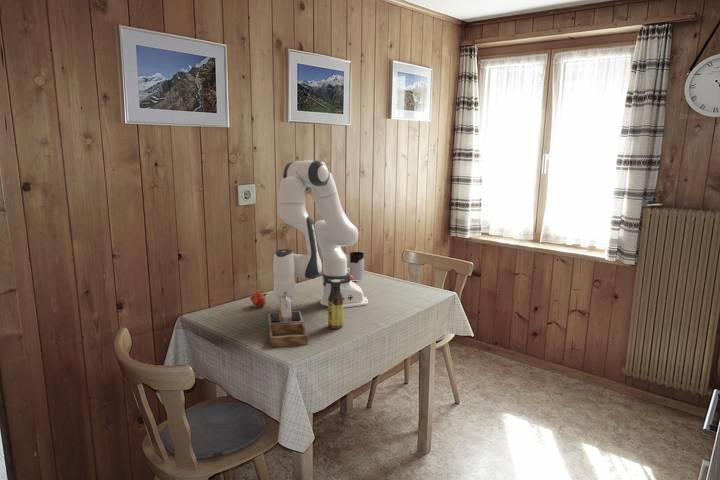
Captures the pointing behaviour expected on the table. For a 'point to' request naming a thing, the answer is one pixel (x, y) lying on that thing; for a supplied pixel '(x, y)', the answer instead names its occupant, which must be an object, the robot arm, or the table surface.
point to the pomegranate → (258, 300)
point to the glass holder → (356, 265)
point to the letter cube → (283, 319)
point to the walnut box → (288, 339)
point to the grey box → (275, 317)
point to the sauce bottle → (335, 305)
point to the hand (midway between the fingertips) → (285, 321)
